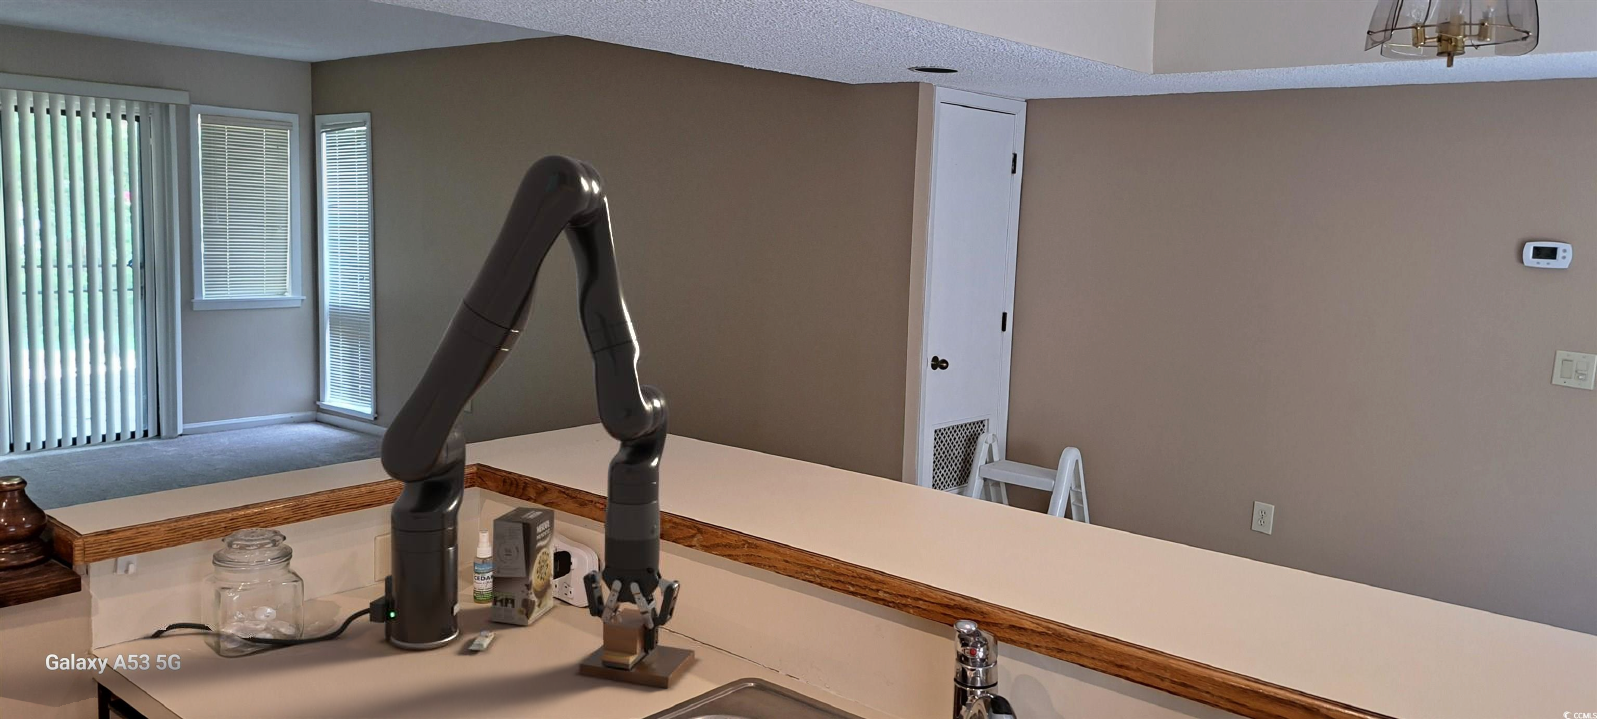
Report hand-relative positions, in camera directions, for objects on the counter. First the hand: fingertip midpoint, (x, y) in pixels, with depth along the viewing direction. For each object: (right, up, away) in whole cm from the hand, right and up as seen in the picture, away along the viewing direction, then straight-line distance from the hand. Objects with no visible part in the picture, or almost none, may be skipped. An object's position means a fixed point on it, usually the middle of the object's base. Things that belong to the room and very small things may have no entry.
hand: (630, 648), depth 149 cm
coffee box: (-20, 0, +18) cm, 27 cm away
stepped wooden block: (0, -1, 0) cm, 1 cm away
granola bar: (-22, -1, +6) cm, 23 cm away
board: (+1, -3, 0) cm, 3 cm away
